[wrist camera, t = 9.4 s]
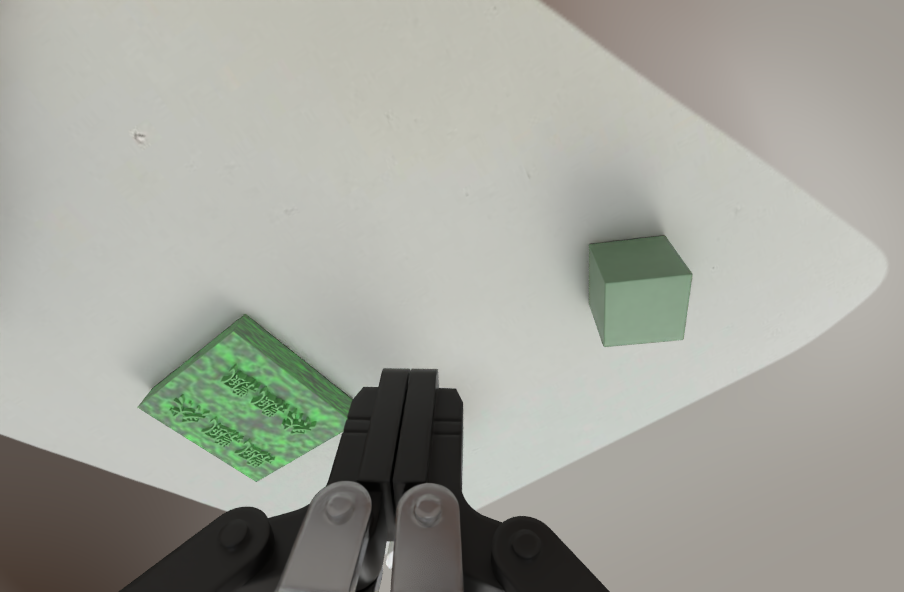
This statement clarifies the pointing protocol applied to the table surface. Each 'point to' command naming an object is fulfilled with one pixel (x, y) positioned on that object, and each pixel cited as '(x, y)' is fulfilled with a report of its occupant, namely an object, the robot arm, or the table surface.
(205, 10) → the table surface
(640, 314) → the block
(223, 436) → the green jade tablet
